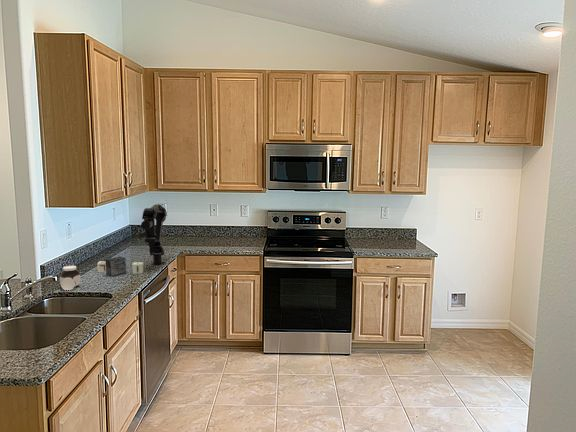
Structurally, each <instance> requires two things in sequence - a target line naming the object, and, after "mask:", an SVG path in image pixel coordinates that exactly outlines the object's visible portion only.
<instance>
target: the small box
mask: <svg viewBox="0 0 576 432" xmlns="http://www.w3.org/2000/svg"><path fill="white" fill-rule="evenodd" d="M104 261H105V262H106V272H105V276H108V277H117V276H120V275H125V274H127V266H126V265H127V264H126V256H125V257H124V256H115V257H110V258H105V260H104Z"/></svg>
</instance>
